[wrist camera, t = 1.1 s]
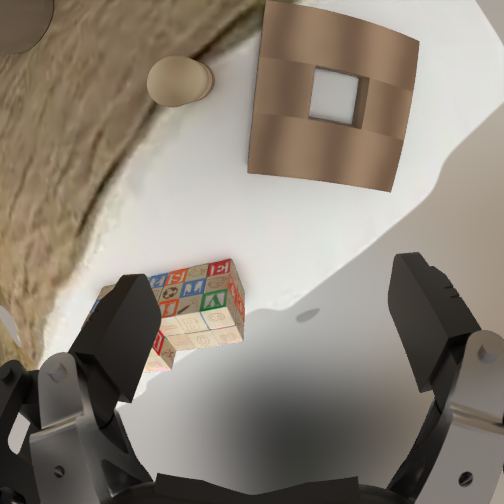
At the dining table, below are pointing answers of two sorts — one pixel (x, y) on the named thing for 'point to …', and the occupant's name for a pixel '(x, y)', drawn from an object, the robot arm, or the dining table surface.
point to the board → (300, 90)
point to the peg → (179, 81)
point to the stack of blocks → (194, 311)
